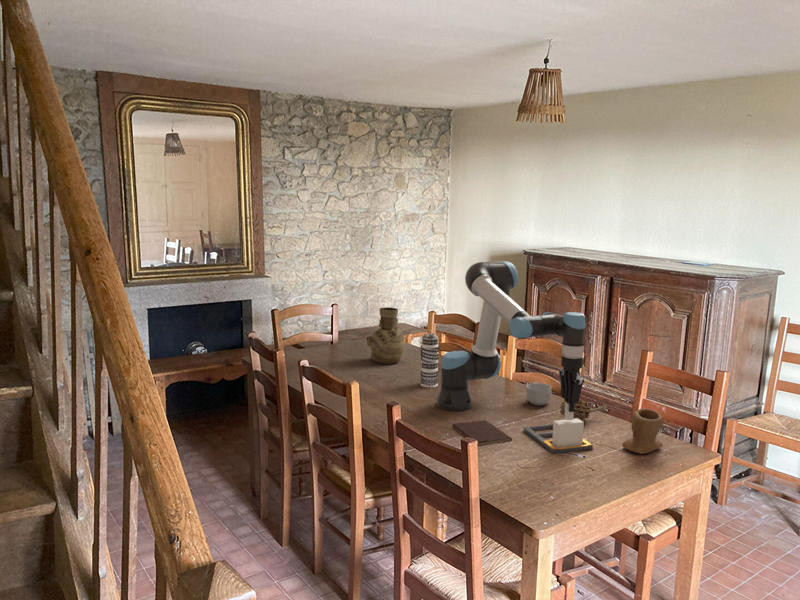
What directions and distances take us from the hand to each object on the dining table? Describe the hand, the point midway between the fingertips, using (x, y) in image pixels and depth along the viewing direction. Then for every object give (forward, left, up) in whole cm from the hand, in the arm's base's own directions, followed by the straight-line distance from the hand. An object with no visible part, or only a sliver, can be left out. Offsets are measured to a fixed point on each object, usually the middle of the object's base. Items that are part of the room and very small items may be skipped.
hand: (568, 419), depth 222 cm
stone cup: (+26, -9, -11) cm, 30 cm away
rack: (0, +7, -11) cm, 13 cm away
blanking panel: (0, 0, -11) cm, 11 cm away
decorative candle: (-25, +84, -11) cm, 89 cm away
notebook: (-25, +20, -12) cm, 34 cm away
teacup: (+14, +48, -11) cm, 52 cm away
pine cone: (+21, +23, -11) cm, 34 cm away
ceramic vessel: (-34, +130, -11) cm, 135 cm away
